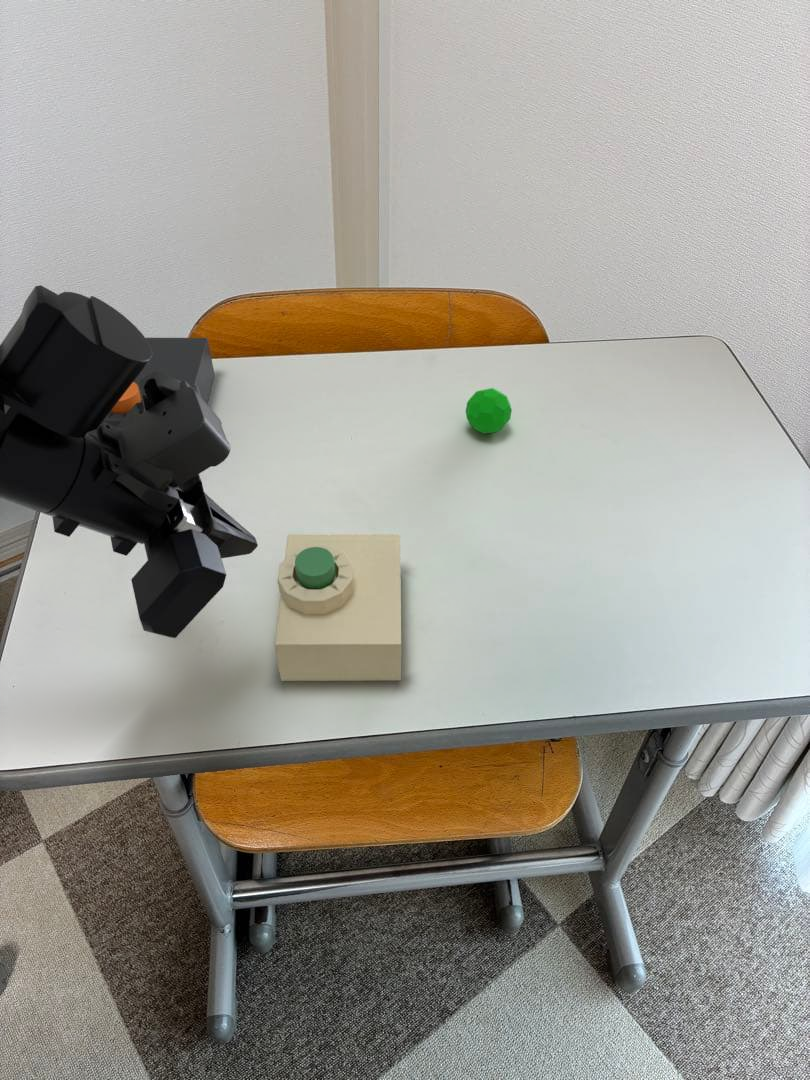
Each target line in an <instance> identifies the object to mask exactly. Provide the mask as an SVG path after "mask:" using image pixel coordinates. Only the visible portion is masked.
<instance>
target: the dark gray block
mask: <svg viewBox="0 0 810 1080" xmlns="http://www.w3.org/2000/svg"><path fill="white" fill-rule="evenodd" d="M145 338H146V339H147V341H148V343H149V345H150V346H151V349H152V352H153V353H152V358H151V359H150V361H149V362H148V363H147V364H146V366H145V367H144V368H143V370H142V371H141V372H140V374H139V375H138V376H137V377H136V379H135V380H134V381H133V382H134V383H136V384H137V386H138V388H139V383H138V382H139V381H140V380H141V379H143V378H144V377H146V376H147V375H149V374H150V373H152V372H154V371H157V372H160V373H162V374H165V375H168V376H170V377H173V378H175V379H177V380H179V381H180V382H181V381H183V380H185V381H186V382H187V383H188V384H194V385H196V386H197V387H198V389H199V392H200V395H201V398H202V399H203V400H204V401H205V403H206V404H207V405H208V404H209V403H208V402H209V398H210V396H211V391H212V387H213V383H214V379H215V369H214V363H213V358H212V354H211V348H210V343H209V338H208V337H145ZM139 392H140V388H139ZM140 395H141V392H140ZM141 399H142V397H141ZM142 402H143V401H142ZM128 413H129V412H128ZM128 413H125V414H112V413H110V412H109V414H108V415H107V416H106V418H105V419H104V420H103V422H102V423H101V424H100V425H102V424H103V423H108V424H110V425H112V426H114V427H118V426H119V424H120V423H121V422H122V421H123V419H124V418H125V417H126V415H127V414H128Z"/></svg>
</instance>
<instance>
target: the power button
mask: <svg viewBox="0 0 810 1080" xmlns="http://www.w3.org/2000/svg"><path fill="white" fill-rule="evenodd" d="M295 569H296V576H297V580H298V582H299V583H300V584H301V585H302V586H303V587H305V588H308V589H322V588H325V587H327V586H328V585H330V584H331V583H332V582H333V580H334V578H335V561H334V557H333V555H332V554H331V552H330V551H328V550H327V549H324V548H321V547H311V548H307V549H305V550H303V551H301V552H300V553H299V554H298V555H297V557H296V559H295Z"/></svg>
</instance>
